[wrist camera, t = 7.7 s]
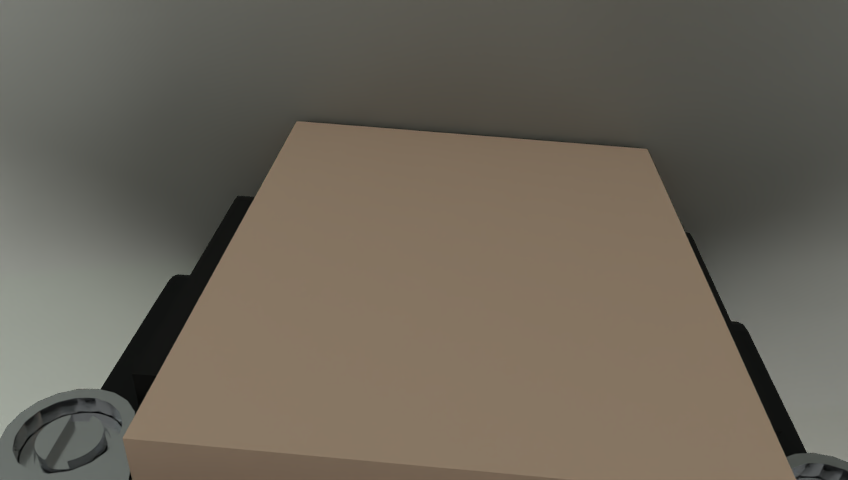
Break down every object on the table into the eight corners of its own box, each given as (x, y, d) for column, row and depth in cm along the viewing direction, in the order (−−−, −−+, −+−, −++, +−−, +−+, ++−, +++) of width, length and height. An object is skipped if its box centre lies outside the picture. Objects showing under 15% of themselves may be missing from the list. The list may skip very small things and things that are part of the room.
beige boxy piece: (290, 120, 10) (104, 447, 5) (647, 148, 10) (811, 510, 5) (305, 456, 14) (204, 839, 9) (568, 481, 14) (617, 884, 9)
